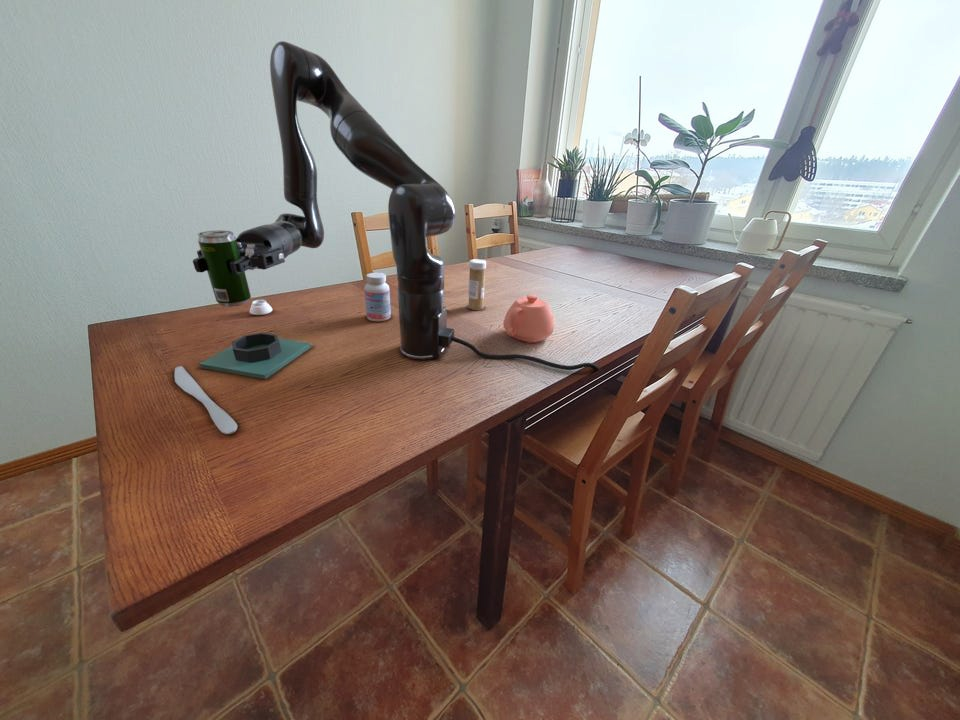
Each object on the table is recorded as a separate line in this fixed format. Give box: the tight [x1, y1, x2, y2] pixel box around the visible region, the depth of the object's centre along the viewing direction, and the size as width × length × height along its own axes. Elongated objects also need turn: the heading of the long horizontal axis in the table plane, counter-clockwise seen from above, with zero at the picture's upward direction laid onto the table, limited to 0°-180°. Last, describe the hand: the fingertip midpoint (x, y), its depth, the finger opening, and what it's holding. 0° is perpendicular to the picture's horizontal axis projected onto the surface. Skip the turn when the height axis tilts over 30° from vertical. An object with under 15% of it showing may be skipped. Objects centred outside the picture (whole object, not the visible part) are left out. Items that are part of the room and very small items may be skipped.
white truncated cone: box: [249, 299, 273, 316], centre depth 95 cm, size 5×3×5 cm
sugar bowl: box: [502, 294, 555, 344], centre depth 89 cm, size 12×14×10 cm
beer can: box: [197, 229, 252, 308], centre depth 65 cm, size 5×5×12 cm
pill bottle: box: [363, 272, 392, 322], centre depth 94 cm, size 6×6×11 cm
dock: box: [198, 332, 312, 380], centre depth 75 cm, size 14×14×4 cm
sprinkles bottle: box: [467, 258, 487, 311], centre depth 104 cm, size 5×5×13 cm
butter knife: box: [174, 365, 238, 435], centre depth 62 cm, size 1×27×3 cm
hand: (215, 267), depth 62 cm, fingers closed on beer can, 5 cm apart
